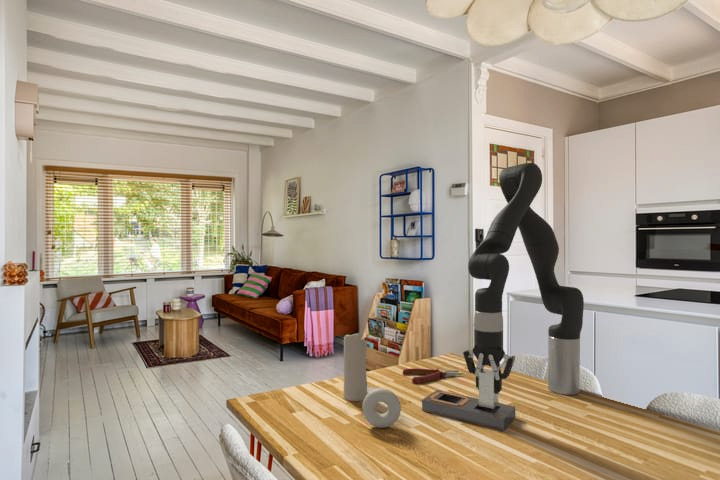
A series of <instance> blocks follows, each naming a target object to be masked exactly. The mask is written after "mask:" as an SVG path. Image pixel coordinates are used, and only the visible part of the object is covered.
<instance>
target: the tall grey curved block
mask: <svg viewBox="0 0 720 480" xmlns="http://www.w3.org/2000/svg"><path fill="white" fill-rule="evenodd" d="M367 350H368V341H366V339H365V338H364V337H362V338H361V335H360V333H353V334H345V335H344V337H343V399H344V400H346V401H348V402H349V401H350V402H361V401H362V402H363V401H364V399H365V397H366V395H367V394H368V393H369V392H370V391H372V390H374V389H378V388H377V387H373V386H368V381H367V379H368V378H367V363H366V362H367V353H368V352H367Z"/></svg>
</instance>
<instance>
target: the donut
mask: <svg viewBox="0 0 720 480" xmlns="http://www.w3.org/2000/svg"><path fill="white" fill-rule="evenodd" d="M379 403H383V404H385V405H386V406H387V411H386V412H384V413H380V412H378V411H377V409H376V405H377V404H379ZM401 405H402V404H401V401H400V399H399V397H398V395H396V394H395V392H394V391H392V390H390V389H388V388H384V387H379V388H377V389H374V390H372V391H370V392H369V393H368V394H367V395H366V397H365V399H364V400H362V406H361V409H362V414H363V416H364V419H365V420H366V421H367V422H368V423H369V424H370V425H371V426H374V427H375V428H380V429H383V428H389V427H391V426H393V425H394V424H395V423H396V422H397V421H398V420H399V418H400V416H401V411H402V406H401Z"/></svg>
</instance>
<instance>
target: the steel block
mask: <svg viewBox="0 0 720 480" xmlns="http://www.w3.org/2000/svg"><path fill="white" fill-rule="evenodd" d="M478 399H479V406H482V407H487V408H492V409H494V408H495V407H496V406H497V405H498V403H499V393H498V394H495V374H494V372H493V371H492V369H489V368H483V370H481V371H480V372H479V390H478Z"/></svg>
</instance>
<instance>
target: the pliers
mask: <svg viewBox="0 0 720 480" xmlns="http://www.w3.org/2000/svg"><path fill="white" fill-rule="evenodd" d="M407 375H418V376H413V377H412V379H411V382H412V384H413V383H414V384H413V385H417V384H418V383H420V384H427V383H430V382H434V381H436V380H437V381H438V380H439V379H443V380H444V379H446V378H449V377H455V376H456V377H457V376H461V375H463V373H462V372H460V371H459V370H451V369H449V370H445V369H444V370H440V369H439V368H436V369H429V368H418V367H417V368H416V367H415V368H413V367H412V368H405V369H403V370H402V376H407ZM419 375H420V376H419Z"/></svg>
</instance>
